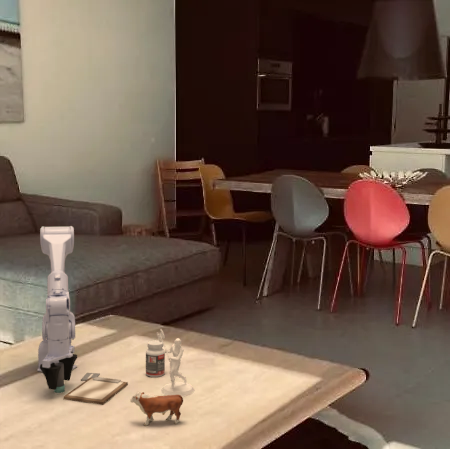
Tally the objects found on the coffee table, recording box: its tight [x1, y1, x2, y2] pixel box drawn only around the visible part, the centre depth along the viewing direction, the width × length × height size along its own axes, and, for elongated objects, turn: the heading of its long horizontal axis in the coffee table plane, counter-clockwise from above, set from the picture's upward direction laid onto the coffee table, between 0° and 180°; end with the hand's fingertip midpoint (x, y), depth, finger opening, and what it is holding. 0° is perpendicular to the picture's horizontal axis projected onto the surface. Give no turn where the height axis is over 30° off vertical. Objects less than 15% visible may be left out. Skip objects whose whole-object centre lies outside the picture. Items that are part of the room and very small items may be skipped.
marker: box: [53, 363, 66, 394], centre depth 212 cm, size 3×3×8 cm
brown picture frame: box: [62, 376, 129, 406], centre depth 212 cm, size 12×16×1 cm
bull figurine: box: [130, 391, 184, 427], centre depth 192 cm, size 4×13×8 cm, turn 95°
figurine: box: [156, 328, 195, 397], centre depth 213 cm, size 10×10×18 cm
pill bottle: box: [145, 339, 166, 378], centre depth 227 cm, size 6×6×10 cm
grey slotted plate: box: [80, 372, 101, 382], centre depth 224 cm, size 4×6×1 cm, turn 173°
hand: (59, 384), depth 212 cm, fingers open, 7 cm apart
